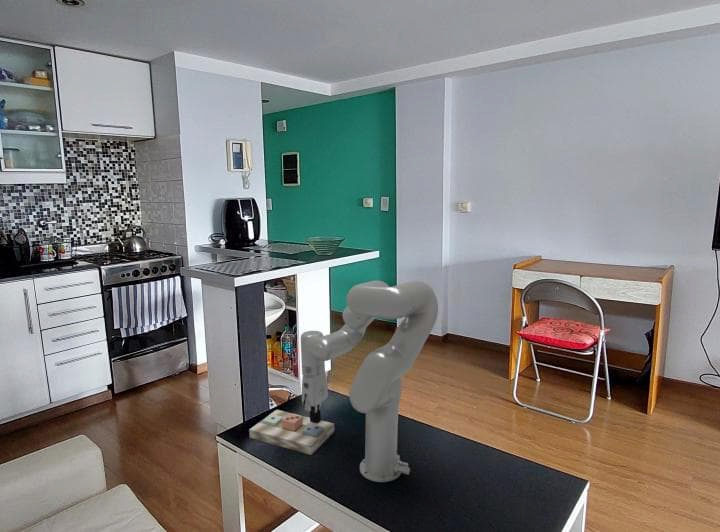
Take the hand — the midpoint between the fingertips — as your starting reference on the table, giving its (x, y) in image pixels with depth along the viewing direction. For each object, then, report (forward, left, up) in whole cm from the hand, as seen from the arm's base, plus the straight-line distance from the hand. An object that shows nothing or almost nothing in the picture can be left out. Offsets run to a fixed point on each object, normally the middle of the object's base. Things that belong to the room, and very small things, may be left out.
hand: (315, 421), depth 153 cm
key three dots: (+9, 0, -4) cm, 10 cm away
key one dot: (+17, 0, -6) cm, 18 cm away
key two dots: (+1, 0, -6) cm, 6 cm away
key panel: (+9, 0, -7) cm, 12 cm away
